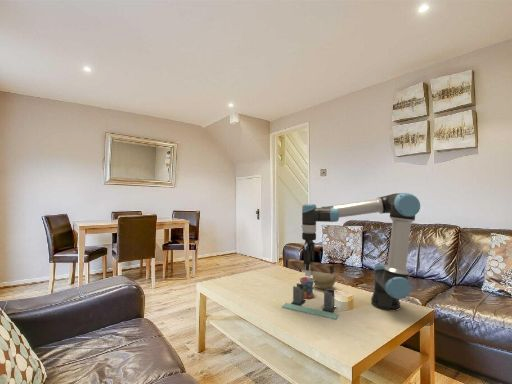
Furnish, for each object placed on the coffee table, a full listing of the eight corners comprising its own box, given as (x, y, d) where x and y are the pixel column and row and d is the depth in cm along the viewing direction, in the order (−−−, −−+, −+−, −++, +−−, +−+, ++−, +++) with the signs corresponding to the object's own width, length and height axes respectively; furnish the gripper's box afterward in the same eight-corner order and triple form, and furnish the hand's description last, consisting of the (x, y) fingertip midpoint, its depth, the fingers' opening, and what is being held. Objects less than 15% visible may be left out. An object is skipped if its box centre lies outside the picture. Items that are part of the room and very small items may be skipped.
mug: (305, 300, 159) (305, 282, 159) (296, 295, 167) (296, 278, 167) (321, 296, 164) (321, 279, 165) (311, 292, 173) (311, 275, 173)
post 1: (305, 301, 158) (305, 284, 158) (300, 306, 150) (300, 288, 150) (296, 299, 161) (296, 282, 161) (290, 304, 153) (290, 287, 153)
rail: (333, 272, 140) (333, 264, 140) (332, 274, 137) (332, 266, 137) (288, 265, 152) (288, 258, 152) (285, 267, 149) (285, 260, 149)
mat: (338, 315, 139) (338, 314, 139) (336, 319, 134) (336, 318, 134) (285, 303, 154) (285, 302, 154) (281, 307, 149) (281, 306, 149)
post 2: (336, 307, 149) (336, 289, 149) (332, 313, 141) (332, 294, 141) (326, 305, 152) (325, 287, 152) (321, 311, 144) (321, 292, 144)
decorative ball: (340, 290, 175) (340, 268, 175) (321, 293, 169) (321, 270, 169) (326, 283, 189) (326, 262, 189) (308, 286, 183) (308, 264, 183)
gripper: (307, 230, 154) (307, 270, 153) (297, 233, 139) (297, 278, 139) (320, 230, 150) (320, 272, 150) (311, 234, 136) (311, 280, 135)
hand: (309, 274), depth 144 cm, fingers closed on rail, 3 cm apart
